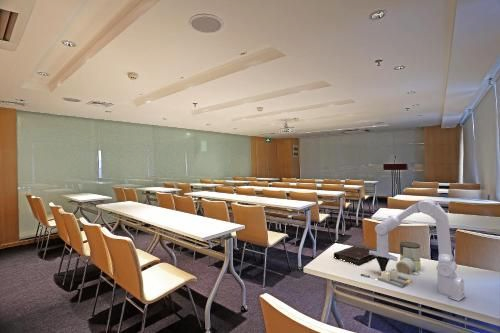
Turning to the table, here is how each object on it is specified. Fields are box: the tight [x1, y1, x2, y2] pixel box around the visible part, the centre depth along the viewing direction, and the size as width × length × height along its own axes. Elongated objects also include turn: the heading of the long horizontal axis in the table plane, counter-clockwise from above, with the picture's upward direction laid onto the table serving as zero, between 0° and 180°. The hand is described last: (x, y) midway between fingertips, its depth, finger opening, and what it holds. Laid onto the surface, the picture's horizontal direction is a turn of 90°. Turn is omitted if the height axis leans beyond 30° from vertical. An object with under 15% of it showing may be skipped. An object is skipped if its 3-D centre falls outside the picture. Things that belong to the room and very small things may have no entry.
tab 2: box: [388, 268, 399, 279], centre depth 135 cm, size 3×3×5 cm
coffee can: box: [399, 241, 422, 272], centre depth 152 cm, size 10×10×14 cm
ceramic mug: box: [395, 258, 421, 276], centre depth 144 cm, size 11×8×8 cm
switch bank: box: [377, 275, 413, 289], centre depth 132 cm, size 12×11×2 cm
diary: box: [333, 245, 377, 266], centre depth 171 cm, size 19×25×5 cm
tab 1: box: [380, 270, 390, 281], centre depth 133 cm, size 3×3×5 cm
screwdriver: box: [360, 273, 379, 281], centre depth 136 cm, size 10×2×2 cm, turn 45°
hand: (383, 271), depth 140 cm, fingers closed
